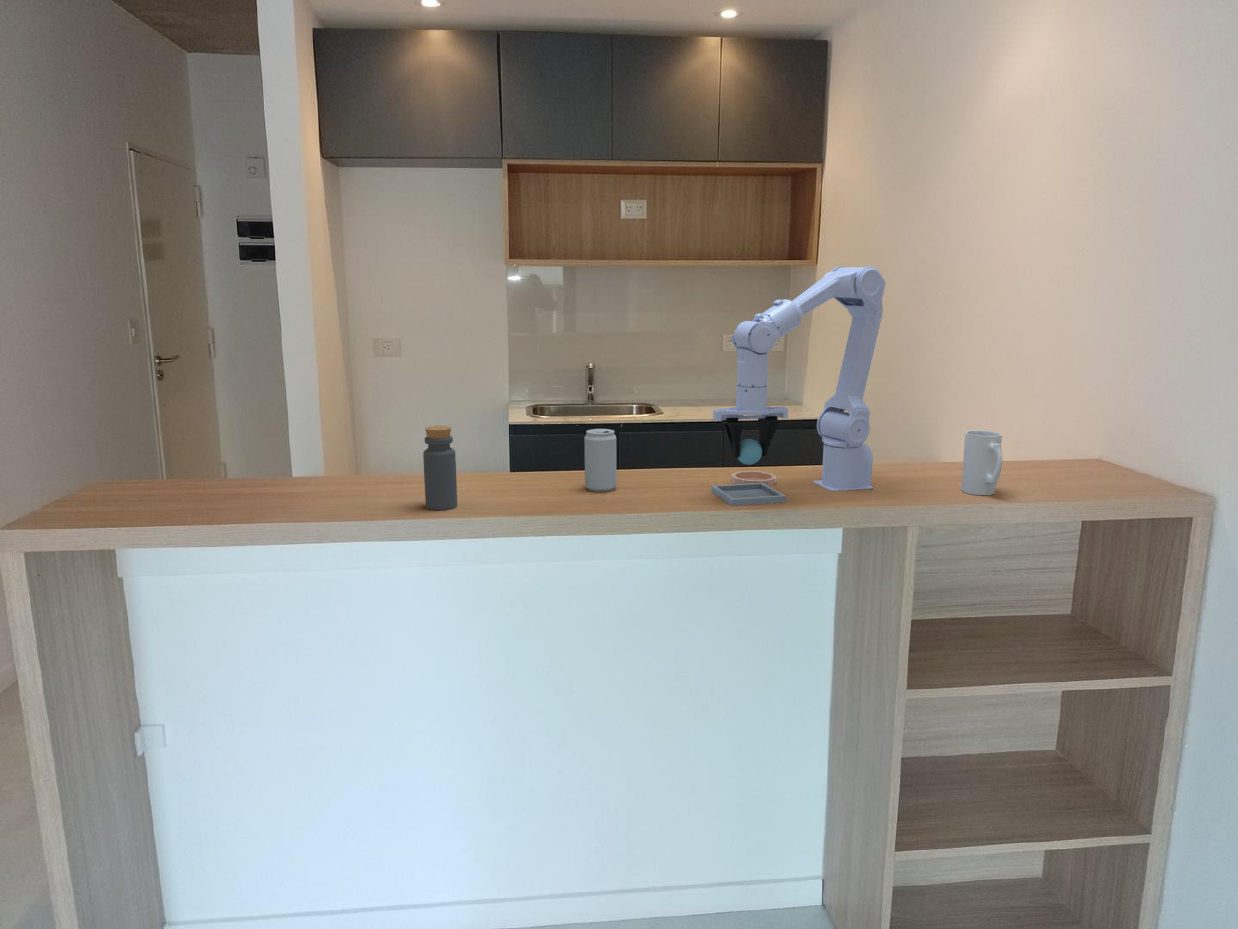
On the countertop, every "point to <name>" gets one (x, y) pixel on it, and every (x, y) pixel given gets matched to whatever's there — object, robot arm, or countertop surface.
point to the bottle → (439, 469)
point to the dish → (753, 477)
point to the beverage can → (600, 460)
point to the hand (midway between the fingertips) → (749, 456)
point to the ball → (750, 451)
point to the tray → (748, 494)
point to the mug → (981, 462)
